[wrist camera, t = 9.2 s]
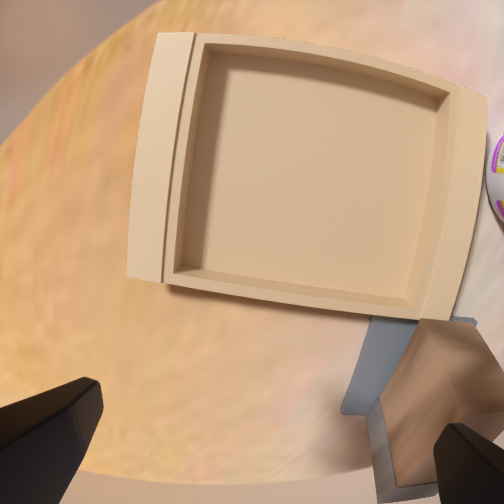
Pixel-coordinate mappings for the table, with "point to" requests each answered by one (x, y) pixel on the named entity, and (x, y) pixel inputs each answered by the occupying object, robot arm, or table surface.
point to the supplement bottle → (496, 176)
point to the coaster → (380, 360)
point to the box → (432, 405)
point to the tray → (304, 176)
